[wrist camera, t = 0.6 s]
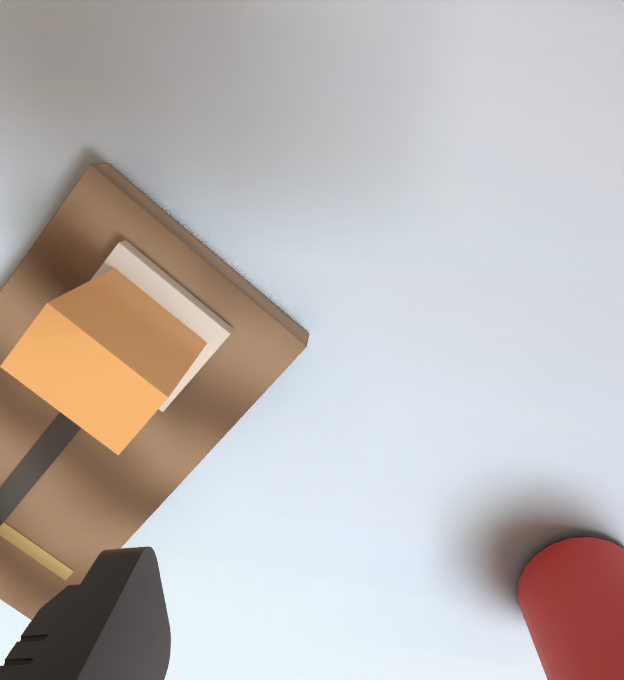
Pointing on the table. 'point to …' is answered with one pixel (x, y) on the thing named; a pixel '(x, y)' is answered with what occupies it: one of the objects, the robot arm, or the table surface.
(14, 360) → the fader tab
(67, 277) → the fader board
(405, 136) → the table surface
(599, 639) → the beer can
